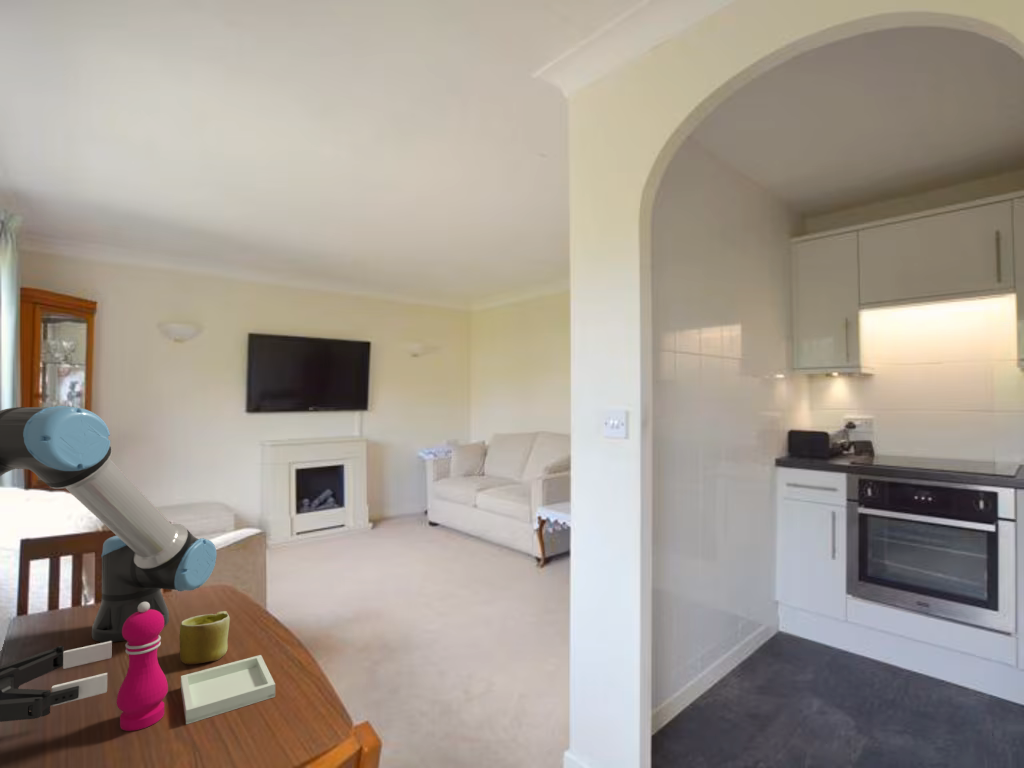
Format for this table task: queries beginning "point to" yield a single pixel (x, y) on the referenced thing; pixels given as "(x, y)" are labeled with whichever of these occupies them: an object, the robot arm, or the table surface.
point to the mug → (204, 638)
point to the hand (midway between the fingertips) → (109, 664)
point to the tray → (226, 688)
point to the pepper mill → (142, 671)
